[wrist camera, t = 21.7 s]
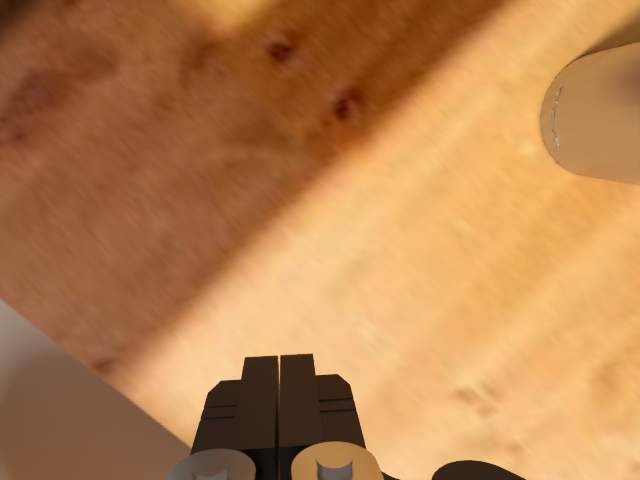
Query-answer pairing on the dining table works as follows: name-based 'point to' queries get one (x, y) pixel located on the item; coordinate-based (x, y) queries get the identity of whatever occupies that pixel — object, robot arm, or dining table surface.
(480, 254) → the dining table surface
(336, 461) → the robot arm
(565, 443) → the dining table surface
